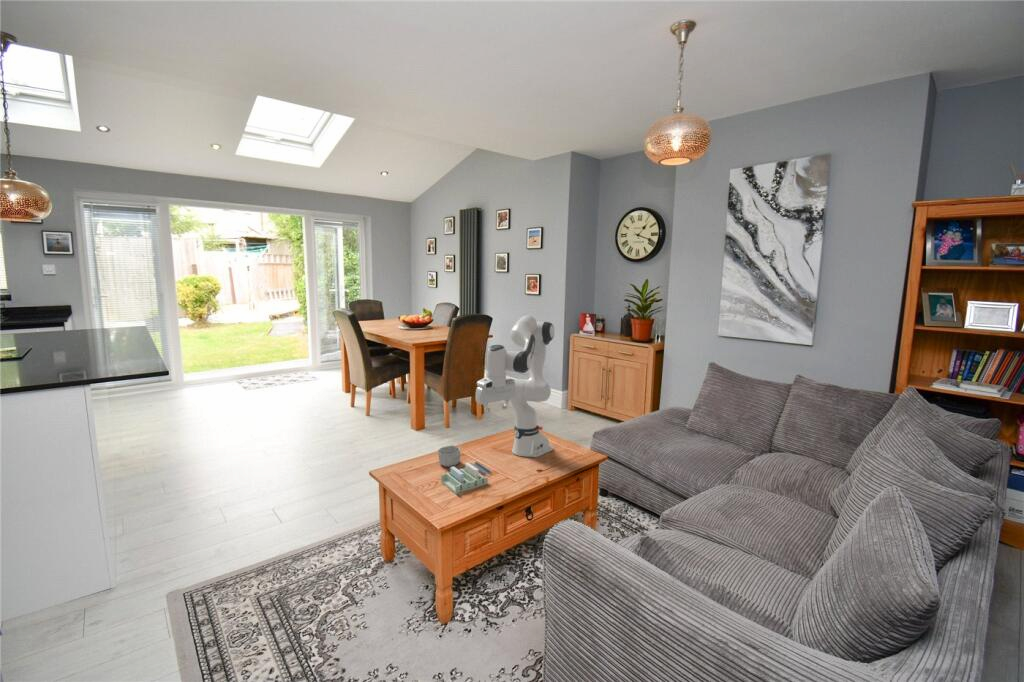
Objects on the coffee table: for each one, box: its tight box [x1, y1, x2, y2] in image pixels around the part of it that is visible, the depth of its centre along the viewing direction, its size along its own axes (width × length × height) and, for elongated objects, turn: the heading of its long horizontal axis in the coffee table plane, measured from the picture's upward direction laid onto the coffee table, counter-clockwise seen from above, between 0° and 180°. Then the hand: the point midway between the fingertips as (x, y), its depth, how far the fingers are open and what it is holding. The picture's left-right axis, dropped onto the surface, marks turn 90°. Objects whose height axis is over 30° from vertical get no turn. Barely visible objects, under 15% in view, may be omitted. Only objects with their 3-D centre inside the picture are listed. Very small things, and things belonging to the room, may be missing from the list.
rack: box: [440, 466, 489, 495], centre depth 203 cm, size 16×14×7 cm
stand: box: [469, 460, 492, 476], centre depth 217 cm, size 5×13×2 cm, turn 35°
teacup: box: [437, 444, 461, 468], centre depth 224 cm, size 14×11×8 cm
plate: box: [464, 462, 480, 480], centre depth 205 cm, size 2×9×6 cm, turn 35°
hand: (496, 410), depth 208 cm, fingers open, 8 cm apart
